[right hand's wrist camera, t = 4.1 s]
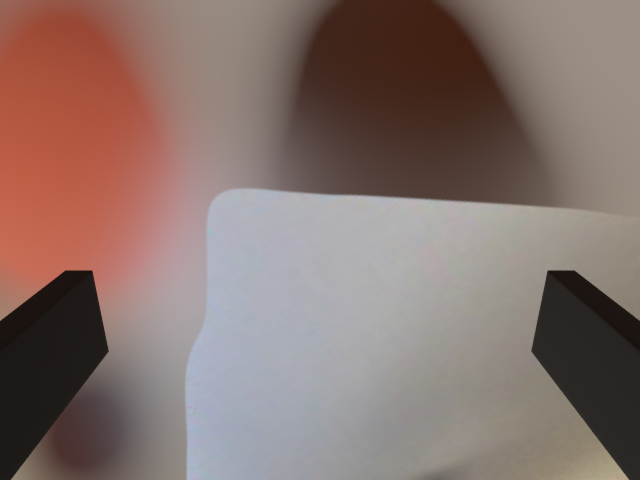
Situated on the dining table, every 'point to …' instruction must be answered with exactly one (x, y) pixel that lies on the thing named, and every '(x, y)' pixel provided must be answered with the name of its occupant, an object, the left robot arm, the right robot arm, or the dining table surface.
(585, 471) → the dining table surface
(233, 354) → the dining table surface
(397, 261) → the dining table surface
